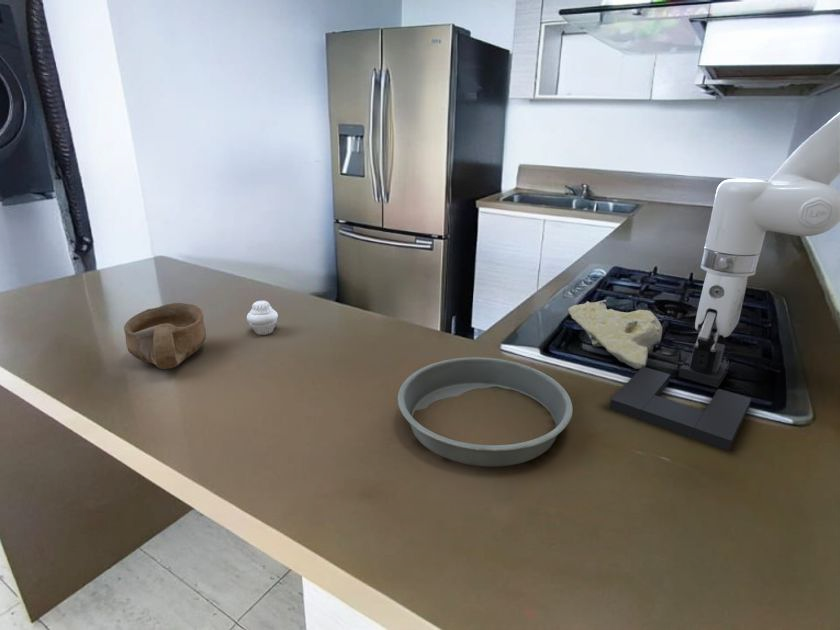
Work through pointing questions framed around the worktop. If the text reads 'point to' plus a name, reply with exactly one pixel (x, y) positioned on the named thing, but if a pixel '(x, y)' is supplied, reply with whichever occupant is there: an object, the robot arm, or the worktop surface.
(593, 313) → the cheese
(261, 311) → the muffin
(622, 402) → the dark grey u-shaped block
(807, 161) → the robot arm
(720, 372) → the grey stepped block
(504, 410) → the worktop surface
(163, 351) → the bowl
